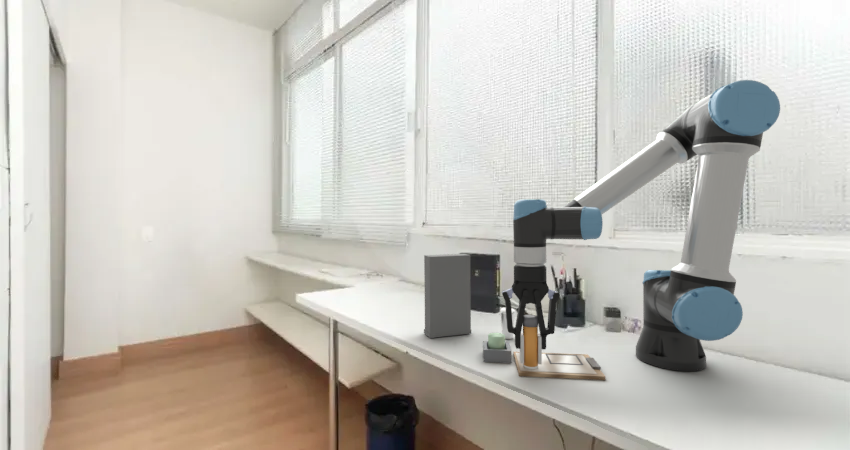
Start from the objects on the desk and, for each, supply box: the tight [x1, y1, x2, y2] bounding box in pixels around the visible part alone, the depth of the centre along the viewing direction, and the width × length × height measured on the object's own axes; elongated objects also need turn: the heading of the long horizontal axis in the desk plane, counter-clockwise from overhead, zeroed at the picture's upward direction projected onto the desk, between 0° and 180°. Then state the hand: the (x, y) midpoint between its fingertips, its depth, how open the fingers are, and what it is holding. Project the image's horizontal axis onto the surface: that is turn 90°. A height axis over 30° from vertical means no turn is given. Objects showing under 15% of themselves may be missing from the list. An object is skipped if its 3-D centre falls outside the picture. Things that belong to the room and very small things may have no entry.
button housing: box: [482, 340, 512, 364], centre depth 101 cm, size 7×7×3 cm
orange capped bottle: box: [522, 314, 539, 370], centre depth 92 cm, size 4×4×12 cm
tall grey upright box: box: [423, 253, 472, 339], centre depth 121 cm, size 14×6×25 cm, turn 108°
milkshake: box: [499, 305, 519, 340], centre depth 117 cm, size 4×5×10 cm
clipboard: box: [513, 351, 606, 381], centre depth 94 cm, size 19×14×1 cm
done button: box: [487, 332, 506, 349], centre depth 101 cm, size 4×4×4 cm
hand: (530, 361), depth 92 cm, fingers closed on orange capped bottle, 3 cm apart
